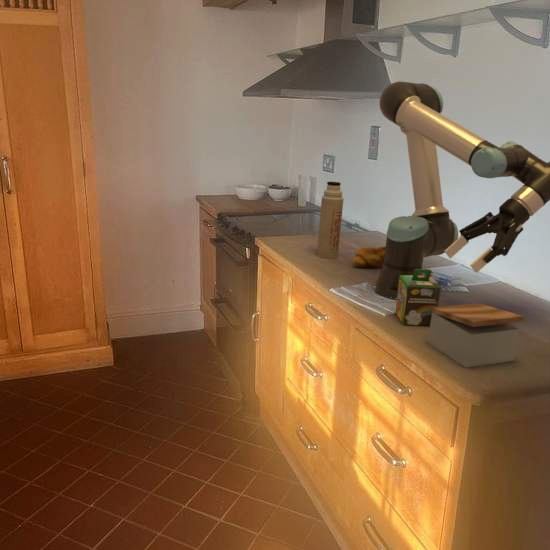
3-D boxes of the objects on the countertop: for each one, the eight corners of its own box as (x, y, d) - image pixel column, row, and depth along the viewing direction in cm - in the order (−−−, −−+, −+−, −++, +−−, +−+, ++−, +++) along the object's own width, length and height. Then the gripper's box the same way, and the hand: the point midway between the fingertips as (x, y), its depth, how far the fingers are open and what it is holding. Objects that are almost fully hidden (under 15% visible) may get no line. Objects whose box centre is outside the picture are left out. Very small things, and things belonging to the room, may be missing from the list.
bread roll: (357, 270, 193) (360, 248, 191) (345, 263, 202) (347, 241, 200) (389, 269, 198) (392, 247, 195) (376, 261, 206) (379, 241, 204)
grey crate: (427, 342, 136) (432, 312, 134) (472, 337, 141) (478, 307, 139) (465, 367, 124) (471, 334, 121) (513, 360, 129) (520, 329, 126)
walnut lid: (430, 311, 134) (430, 306, 134) (477, 307, 139) (477, 302, 139) (473, 326, 120) (473, 321, 120) (523, 321, 126) (523, 316, 125)
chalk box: (426, 314, 155) (433, 264, 151) (436, 327, 146) (444, 273, 142) (393, 313, 155) (400, 262, 150) (402, 325, 146) (409, 272, 142)
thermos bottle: (341, 258, 208) (349, 183, 200) (323, 259, 205) (330, 183, 197) (331, 252, 215) (338, 180, 207) (313, 253, 212) (319, 180, 204)
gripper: (558, 227, 136) (493, 285, 137) (500, 208, 159) (444, 258, 161) (544, 205, 133) (477, 265, 135) (486, 189, 157) (430, 240, 158)
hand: (459, 261), depth 148 cm, fingers open, 13 cm apart
